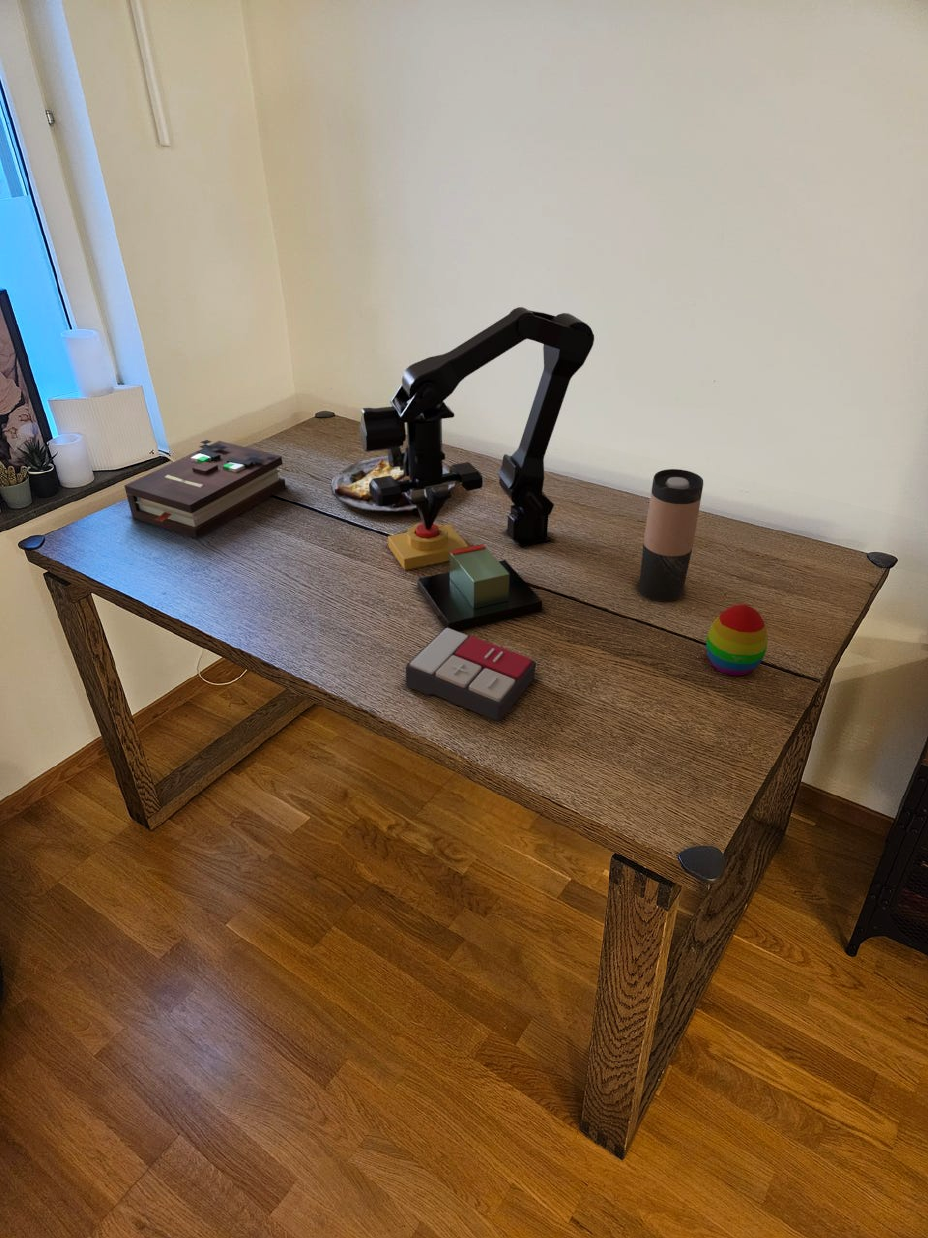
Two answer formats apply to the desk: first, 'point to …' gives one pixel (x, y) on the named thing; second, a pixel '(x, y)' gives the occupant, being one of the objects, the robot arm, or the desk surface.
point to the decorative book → (205, 488)
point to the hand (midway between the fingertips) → (427, 528)
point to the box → (479, 576)
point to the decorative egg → (737, 640)
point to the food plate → (356, 485)
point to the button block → (425, 547)
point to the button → (427, 531)
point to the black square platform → (463, 616)
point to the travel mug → (669, 533)
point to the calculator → (470, 673)
